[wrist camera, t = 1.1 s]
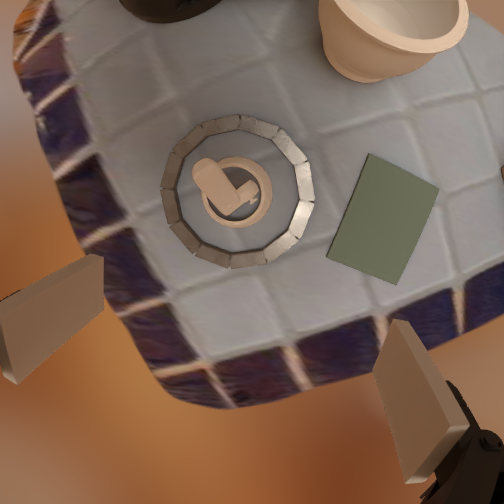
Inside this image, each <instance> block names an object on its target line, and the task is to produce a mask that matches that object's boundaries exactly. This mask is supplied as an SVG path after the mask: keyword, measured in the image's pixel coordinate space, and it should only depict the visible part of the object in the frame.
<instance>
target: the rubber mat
mask: <svg viewBox="0 0 504 504" xmlns="http://www.w3.org/2000/svg"><path fill="white" fill-rule="evenodd" d="M438 192H439V188H437V187H435V186H433V185H431V184H429V183H428V182H426V181H424V180H422V179H420V178H418V177H416V176H414V175H413V174H411V173H409V172H407V171H405V170H403V169H401V168H399V167H397V166H395V165H393V164H391V163H389V162H387V161H384V160H382V159H380V158H378V157H376V156H374V155H372V154H368V156H367V159H366V162H365V164H364V167H363V169H362V172H361V175H360V177H359V180H358V182H357V185H356V187H355V190H354V192H353V195H352V197H351V200H350V202H349V204H348V207H347V209H346V212H345V214H344V217H343V219H342V221H341V224H340V226H339V228H338V231H337V233H336V235H335V238H334V240H333V242H332V244H331V247H330V249H329V251H328V254H327V256H326V257H327V258H329V259H331V260H334V261H336V262H339V263H342V264H344V265H347V266H349V267H352V268H354V269H357V270H359V271H362V272H364V273H367V274H369V275H372V276H374V277H377V278H379V279H382V280H384V281H387V282H389V283H392V284H394V285H397V283H398V281H399V279H400V277H401V275H402V273H403V271H404V269H405V267H406V265H407V263H408V261H409V259H410V257H411V254H412V252H413V250H414V248H415V246H416V244H417V242H418V239H419V237H420V235H421V233H422V231H423V228H424V226H425V224H426V221H427V219H428V217H429V214H430V212H431V209H432V207H433V205H434V202H435V200H436V197H437V195H438Z"/></svg>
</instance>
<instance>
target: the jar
mask: <svg viewBox="0 0 504 504" xmlns="http://www.w3.org/2000/svg"><path fill="white" fill-rule="evenodd" d="M318 14H319V22H320V27H321V31H322V36H323V48H324V52H325V55H326V57H327V59H328V61H329V62H330V64H331V65H332V66H333V67H334V68H335V69H336V70H337V71H338V72H339V73H340V74H342V75H343V76H345V77H347V78H349V79H351V80H354V81H357V82H362V83H373V82H378V81H381V80H383V79H385V78H389V77H393V76H399V75H403V74H406V73H409V72H412V71H414V70H416V69H418V68H420V67H421V66H423V65H424V64H426V63H427V62H428V61H430V60H431V59H432V58H433V57H434V56H435V55H436V54H437V53H440V52H443V51H445V50H447V49H449V48H451V47H453V46H454V45H456V44H457V43H458V42H459V41H460V40H461V39H462V37H463V36H464V34H465V32H466V29H467V26H468V19H469V14H468V6H467V2H466V0H319V7H318Z"/></svg>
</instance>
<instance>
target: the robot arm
mask: <svg viewBox="0 0 504 504" xmlns="http://www.w3.org/2000/svg"><path fill="white" fill-rule="evenodd" d="M119 1H120V3H121V4H122V5H123V7H124V8H125V9H127V10H128V11H129V12H131V13H132V14H133V15H135V16H136V17H138V18H140V19H142V20H145V21H148V22H154V23H170V22H176V21H181V20H185V19H188V18H191V17H194V16H196V15H198V14H201V13H202V12H204V11H206V10H208V9H210V8H211V7H213V6H214V5H216V4H217V3H218V2H220V1H221V0H119ZM103 263H104V257H101V256H97V255H93V254H89V255H87V256H85V257H83V258H81V259H79V260H77V261H75V262H74V263H71V264H69V265H67V266H65V267H63V268H62V269H60V270H58V271H56V272H54V273H52V274H50V275H49V276H46V277H45V278H42V279H41V280H39V281H37V282H35V283H33V284H31V285H29V286H28V287H26V288H24V289H22V290H18V291H16V292H15V293H13V294H11V295H10V296H7V297H6V298H4V299H3V300H0V366H1V369H2V372H3V375H4V377H6V378H7V379H9V380H10V381H12V382H13V383H15V384H16V385H18V384H19V383H20V382H21V381H22V380H23V379H24V378H26V377H27V375H29V374H30V373H31V372H32V371H33V370H34V369H36V368H37V367H38V366H39V365H40V364H41V363H42V362H43V361H45V360H46V359H47V358H48V357H49V356H50V355H51V354H53V353H54V352H55V351H56V350H57V349H58V348H59V347H60V346H62V345H63V344H64V343H65V342H66V341H68V340H69V339H70V338H71V337H72V336H73V335H75V334H76V333H77V332H78V331H79V330H80V329H82V328H83V327H84V326H85V325H86V324H88V323H89V322H90V321H91V320H92V319H94V318H95V317H96V316H97V315H98V314H99V313H101V312H102V311H103V310H104V297H103ZM372 371H373V373H374V377H375V380H376V383H377V386H378V389H379V392H380V396H381V399H382V402H383V405H384V409H385V412H386V415H387V419H388V422H389V425H390V429H391V432H392V436H393V439H394V443H395V447H396V450H397V454H398V458H399V461H400V465H401V469H402V473H403V477H404V481H405V483H419V482H425V480H427V478H428V477H429V476H430V475H431V474H432V473H433V472H435V475H436V478H437V480H436V481H435V482H434V483H433V484H432V485H431V486H430V487H429V488H428V489H427V490H426V491H425V492H424V493H423V494H422V495H421V496H420V498H421V499H422V498H423V497H424V496H425V497H424V499H423V500H422V502H421V504H504V444H503V442H502V440H501V439H500V438H499V436H498V435H496V434H495V433H493V432H492V431H489V430H481V429H480V427H479V425H478V423H477V422H476V420H475V418H474V416H473V414H472V413H471V411H470V409H469V408H468V407H467V405H466V402H465V401H464V400H463V397H462V396H461V394H460V392H459V391H458V389H457V388H456V387H455V386H454V385H453V384H452V383H451V382H450V381H445V380H444V378H443V376H442V375H441V373H440V371H439V370H438V368H437V366H436V365H435V363H434V361H433V360H432V358H431V356H430V355H429V353H428V352H427V350H426V348H425V347H424V345H423V344H422V342H421V341H420V339H419V337H418V336H417V334H416V333H415V331H414V330H413V328H412V327H411V325H410V324H409V322H408V321H403V320H397V319H393V320H392V323H391V326H390V328H389V331H388V334H387V336H386V339H385V341H384V344H383V346H382V348H381V351H380V353H379V356H378V358H377V360H376V363H375V365H374V367H373V370H372Z"/></svg>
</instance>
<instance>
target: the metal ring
mask: <svg viewBox="0 0 504 504" xmlns="http://www.w3.org/2000/svg"><path fill="white" fill-rule="evenodd" d="M240 129H241V130H244V131H247V132H250V133H253V134H256V135H259V136H262V137H265V138H268V139H271V140H273V142H274V143H275V144H276V145H277V146H278V147H279V149H280V150H281V151H282V152H283V153H284V154H285V156H286V157H287V158H288V159H289V160H290V162H291V163H292V164H293V165H294V166H295V172H296V178H297V184H298V190H299V196H300V200H299V202H298V205H297V208H296V210H295V213H294V215H293V218H292V220H291V223H290V225H289V228H288V230H286V231H285V232H284V233H282V234H281V235H280V236H279V237H277V238H276V239H275V240H273V241H272V242H271V243H270V244H268V245H267V246H266V247H264V248H263V249H257V250H249V251H242V252H235V253H231V252H228V251H226V250H223V249H220V248H218V247H215V246H212V245H210V244H207V243H205V242H203V241H202V240H201V239H200V238H199V237H198V236H197V234H196V233H195V232H194V231H193V230H192V229H191V227H190V226H189V225H188V224H187V223H186V222H185V220H184V219H183V217H182V213H181V208H180V204H179V199H178V194H177V190H176V187H177V183H178V180H179V177H180V174H181V170H182V167H183V164H184V161H185V158H186V157H187V156H188V155H189V154H190V153H191V152H192V151H193V150H194V149H195V148H197V147H198V146H199V145H200V144H201V143H202V142H203V141H204V140H205V139H206V138H207V137H209V136H212V135H217V134H221V133H226V132H231V131H235V130H240ZM278 130H279V127H278V126H275V125H273V124H270V123H267V122H264V121H261V120H258V119H255V118H252V117H249V116H245V115H242V116H241V117H240V115H239V114H238V115H233V116H228V117H224V118H219V119H215V120H210V121H206V122H202V125H199V124H198V125H197V126H196V127H195V128H194V129H193V130H192V131H191V132H190V133H189V134H188V135H187V136H186V137H184V138H183V139H182V140H181V141H180V142H179V143H178V144H177V145H176V146H175V147H174V148H173V149H172V150H173V151H174V152H175V153H174V152H170V155H169V158H168V162H167V165H166V169H165V172H164V175H163V179H162V182H161V186H160V187H163V188H166V189H162V190H160V191H161V196H162V201H163V205H164V210H165V214H166V218H167V223H168V224H172V223H173V224H172V225H171V226H170V229H171V230H172V231H173V232H174V233H175V234H176V236H177V237H178V238H179V239H180V240H181V241H182V243H183V244H184V245H185V246H186V247H187V248H188V249H189V251H190V252H191V253H192V254H193V253H194V252H195V251H196V250H197V251H196V254H195V256H197V257H199V258H202V259H204V260H207V261H210V262H212V263H215V264H217V265H220V266H223V267H225V268H228V267H229V266H231V269H235V268H242V267H250V266H257V265H265V264H267V261H268V262H269V263H270V262H272V261H273V260H274V259H276V258H277V257H278V256H280V255H281V254H282V253H283V252H285V251H286V250H287V249H289V248H290V247H291V246H293V245H294V244H295V243H297V242H298V238H301V236H302V234H303V231H304V229H305V226H306V224H307V221H308V219H309V216H310V214H311V211H312V209H313V206H314V202H312V200H315V197H314V190H313V184H312V178H311V171H310V165H309V162H304V161H305V160H306V159H307V158H306V156H305V155H304V154H303V153H302V152H301V150H300V149H299V148H298V147H297V146H296V144H295V143H294V142H293V141H292V140H291V139H290V137H289V136H288V135H287V134H286V133H285V132H284V130H283V129H281V130H280V131H279V132H278ZM303 162H304V163H303ZM297 237H298V238H297Z"/></svg>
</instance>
